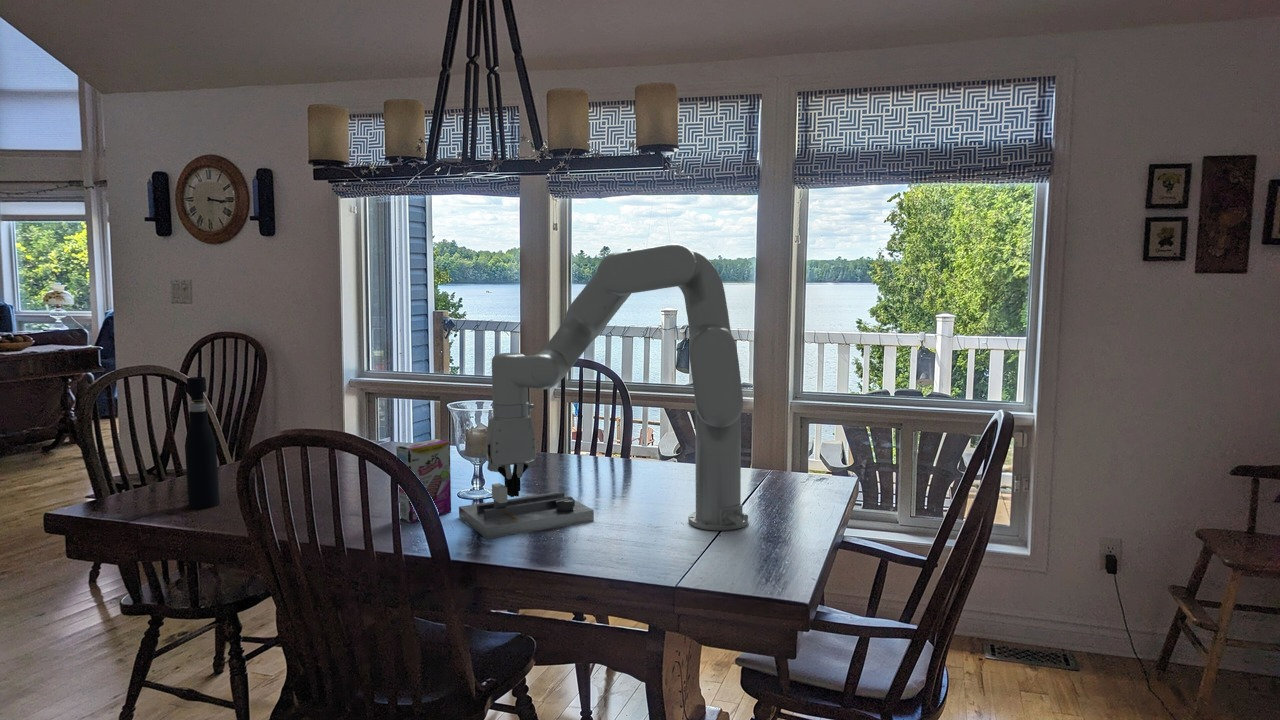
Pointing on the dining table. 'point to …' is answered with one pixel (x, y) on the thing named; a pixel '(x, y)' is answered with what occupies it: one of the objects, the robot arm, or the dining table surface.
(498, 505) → the block
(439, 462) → the candy bar box
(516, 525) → the console
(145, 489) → the dining table surface
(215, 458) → the black water bottle
